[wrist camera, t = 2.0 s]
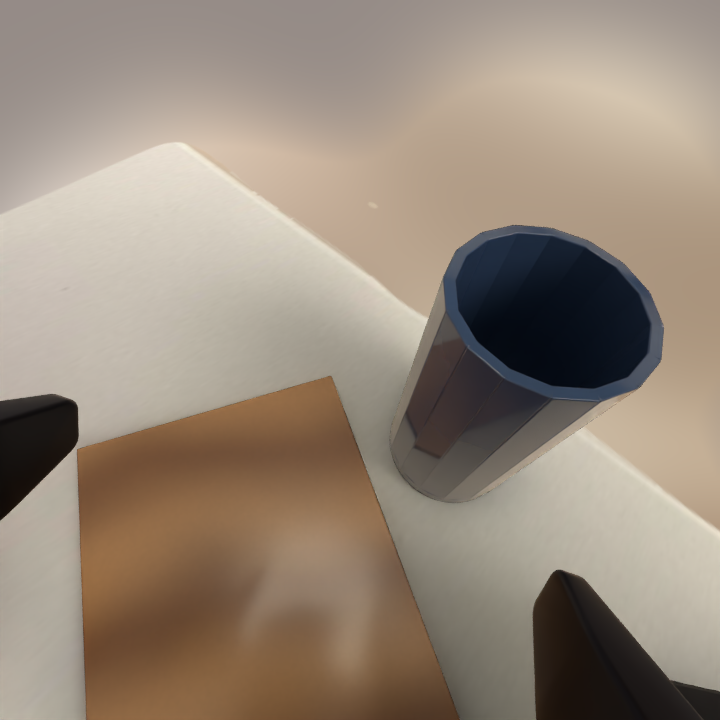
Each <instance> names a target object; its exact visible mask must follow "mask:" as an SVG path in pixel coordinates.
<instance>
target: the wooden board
mask: <svg viewBox="0 0 720 720" xmlns="http://www.w3.org/2000/svg"><path fill="white" fill-rule="evenodd" d="M77 463H78V492H79V520H80V549H81V577H82V605H83V634H84V662H85V691H86V719H87V720H460V719H459V716H458V713H457V711H456V708H455V705H454V703H453V700H452V697H451V695H450V692H449V689H448V687H447V684H446V681H445V679H444V676H443V673H442V671H441V668H440V665H439V663H438V660H437V657H436V655H435V652H434V649H433V647H432V644H431V641H430V639H429V636H428V633H427V631H426V628H425V625H424V623H423V620H422V617H421V615H420V612H419V609H418V606H417V604H416V601H415V598H414V596H413V593H412V590H411V588H410V585H409V582H408V580H407V577H406V574H405V572H404V569H403V566H402V564H401V561H400V558H399V556H398V553H397V550H396V548H395V545H394V542H393V540H392V537H391V534H390V532H389V529H388V526H387V524H386V521H385V518H384V516H383V513H382V510H381V508H380V505H379V502H378V500H377V497H376V494H375V492H374V489H373V486H372V484H371V481H370V478H369V476H368V473H367V470H366V467H365V465H364V462H363V459H362V457H361V454H360V451H359V449H358V446H357V443H356V441H355V438H354V435H353V433H352V430H351V427H350V425H349V422H348V419H347V417H346V414H345V411H344V409H343V406H342V403H341V401H340V398H339V395H338V393H337V390H336V387H335V385H334V382H333V379H332V377H331V376H328V377H325V378H321V379H318V380H314V381H311V382H308V383H304V384H301V385H297V386H294V387H290V388H287V389H283V390H280V391H277V392H273V393H270V394H266V395H263V396H259V397H256V398H252V399H249V400H245V401H242V402H239V403H235V404H232V405H228V406H225V407H221V408H218V409H214V410H211V411H207V412H204V413H201V414H197V415H194V416H190V417H187V418H183V419H180V420H176V421H173V422H170V423H166V424H163V425H159V426H156V427H152V428H149V429H145V430H142V431H138V432H135V433H132V434H128V435H125V436H121V437H118V438H114V439H111V440H107V441H104V442H101V443H97V444H94V445H90V446H87V447H83V448H80V449H77Z"/></svg>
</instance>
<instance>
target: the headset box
mask: <svg viewBox="0 0 720 720" xmlns="http://www.w3.org/2000/svg"><path fill="white" fill-rule="evenodd" d="M670 681H671V682H672V683H673V684H674V686H675V687H676V688H677V689H678V690H679V691H680V693H681V694H682V695H683V696H684V697H685V699H686V700H687V701H688V702H689V703H690V704H691V706H692V707H693V708H694V709H695V710H696V712H697V713H698V714H699V715H700V716H701V718H702V719H703V720H720V692H719V691H715V690H710V689H704V688H701V687H697V686H693V685H688V684H683V683H679V682H676V681H672V680H670Z"/></svg>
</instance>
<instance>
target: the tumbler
mask: <svg viewBox="0 0 720 720" xmlns="http://www.w3.org/2000/svg"><path fill="white" fill-rule="evenodd" d="M663 334H664V327H663V323H662V320H661V318H660V315H659V313H658V311H657V308H656V306H655V303H654V301H653V298H652V296H651V294H650V293H649V291H648V290H647V289H646V287H645V286H644V285H643V284H642V283H641V282H640V281H639V280H638V279H637V278H636V276H635V275H634V274H633V273H632V272H631V271H630V270H629V268H628V267H627V266H626V265H625V264H623V262H621V261H620V260H618V259H617V258H615V257H613V256H612V255H610V254H609V253H607V252H606V251H604V250H603V249H601V248H599V247H598V246H596V245H595V244H593V243H592V242H590V241H588V240H585V239H583V238H579V237H577V236H574V235H571V234H568V233H565V232H562V231H559V230H556V229H554V228H552V229H551V228H546V227H535V226H522V225H512V226H507V227H503V228H498V229H494V230H489V231H485V232H482V233H480V234H478V235H477V236H475V237H474V238H473V239H471V240H470V241H468V242H467V243H466V244H464V245H463V246H461V247H460V248H459V249H457V250H456V252H455V253H454V255H453V257H452V259H451V262H450V264H449V266H448V268H447V270H446V272H445V274H444V276H443V279H442V281H441V284H440V287H439V290H438V293H437V296H436V299H435V301H434V304H433V307H432V310H431V313H430V316H429V319H428V321H427V324H426V327H425V330H424V333H423V336H422V339H421V341H420V344H419V347H418V350H417V353H416V356H415V359H414V361H413V364H412V367H411V370H410V373H409V376H408V379H407V381H406V384H405V387H404V390H403V393H402V396H401V399H400V401H399V404H398V407H397V410H396V413H395V416H394V419H393V421H392V427H391V432H390V448H391V453H392V457H393V460H394V462H395V464H396V466H397V468H398V470H399V472H400V473H401V475H402V476H403V477H404V479H405V480H406V481H407V482H408V483H409V484H410V485H411V486H412V487H413V488H415V489H416V490H417V491H419V492H420V493H422V494H424V495H425V496H427V497H430V498H432V499H435V500H438V501H442V502H449V503H461V502H467V501H470V500H474V499H476V498H478V497H480V496H482V495H483V494H485V493H488V492H490V491H491V490H493V489H494V488H496V487H497V486H498V485H500V484H501V483H503V482H504V481H506V480H507V479H509V478H510V477H511V476H513V475H514V474H516V473H517V472H519V471H520V470H522V469H523V468H524V467H526V466H527V465H529V464H530V463H532V462H533V461H534V460H536V459H537V458H539V457H540V456H542V455H543V454H545V453H546V452H547V451H549V450H550V449H552V448H553V447H555V446H556V445H558V444H559V443H560V442H562V441H563V440H565V439H566V438H568V437H569V436H571V435H572V434H573V433H575V432H576V431H578V430H579V429H581V428H582V427H584V426H585V425H586V424H588V423H589V422H591V421H592V420H594V419H595V418H597V417H598V416H599V415H601V414H602V413H604V412H605V411H606V410H608V409H610V408H611V407H612V406H614V405H615V404H617V403H618V402H620V401H621V400H622V399H624V398H625V397H627V396H628V395H630V394H631V393H632V392H634V391H635V390H637V389H638V388H640V387H641V385H642V384H643V383H644V382H645V380H646V379H647V378H648V377H649V375H650V374H651V373H652V372H653V371H654V369H655V368H656V367H657V366H658V364H659V363H660V361H661V357H662V346H663Z"/></svg>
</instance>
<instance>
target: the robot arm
mask: <svg viewBox="0 0 720 720" xmlns="http://www.w3.org/2000/svg"><path fill="white" fill-rule="evenodd" d="M78 437H79V429H78V406H77V404H76V402H74V401H73V400H71V399H68V398H66V397H63V396H60V395H56V394H48V395H40V396H33V397H26V398H19V399H12V400H5V401H0V520H2V519H3V518H4V517H5V516H6V515H7V514H8V513H9V512H10V511H11V510H12V509H13V508H14V507H16V506H17V505H18V504H19V503H20V502H21V501H22V500H23V499H24V498H25V497H26V496H27V495H28V494H29V493H30V492H31V491H32V490H33V489H34V488H35V487H36V486H37V485H38V484H39V483H40V482H41V481H42V480H43V479H44V478H45V477H46V476H47V475H48V474H49V473H50V472H51V471H52V470H53V469H54V468H55V467H56V466H57V465H58V464H59V463H60V462H61V461H62V460H63V459H64V458H65V457H66V456H67V455H68V454H69V453H70V452H71V451H72V450H73V448H74V447H75V445H76V443H77V441H78ZM533 644H534V674H535V704H536V720H703V719H702V718H701V716H700V715H699V714H698V713H697V712H696V710H695V709H694V708H693V707H692V706H691V704H690V703H689V702H688V701H687V700H686V699H685V697H684V696H683V695H682V694H681V693H680V691H679V690H678V689H677V688H676V687H675V686H674V684H673V683H672V682H671V681H670V680H669V678H668V677H667V676H666V675H665V674H664V673H663V671H662V670H661V669H660V668H659V667H658V665H657V664H656V663H655V662H654V661H653V660H652V658H651V657H650V656H649V655H648V654H647V652H646V651H645V650H644V649H643V648H642V647H641V645H640V644H639V643H638V642H637V641H636V639H635V638H634V637H633V636H632V635H631V634H630V632H629V631H628V630H627V629H626V628H625V626H624V625H623V624H622V623H621V622H620V621H619V619H618V618H617V617H616V616H615V615H614V613H613V612H612V611H611V610H610V609H609V608H608V606H607V605H606V604H605V603H604V602H603V600H602V599H601V598H600V597H599V596H598V594H597V593H596V592H595V591H594V590H593V589H592V587H591V586H590V585H589V584H588V583H587V582H586V581H585V579H583V578H582V577H580V576H578V575H575V574H572V573H569V572H566V571H563V570H556V571H554V572H553V573H552V574H551V576H550V578H549V579H548V581H547V583H546V584H545V586H544V588H543V589H542V591H541V593H540V594H539V596H538V598H537V599H536V602H535V604H534V608H533Z"/></svg>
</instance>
